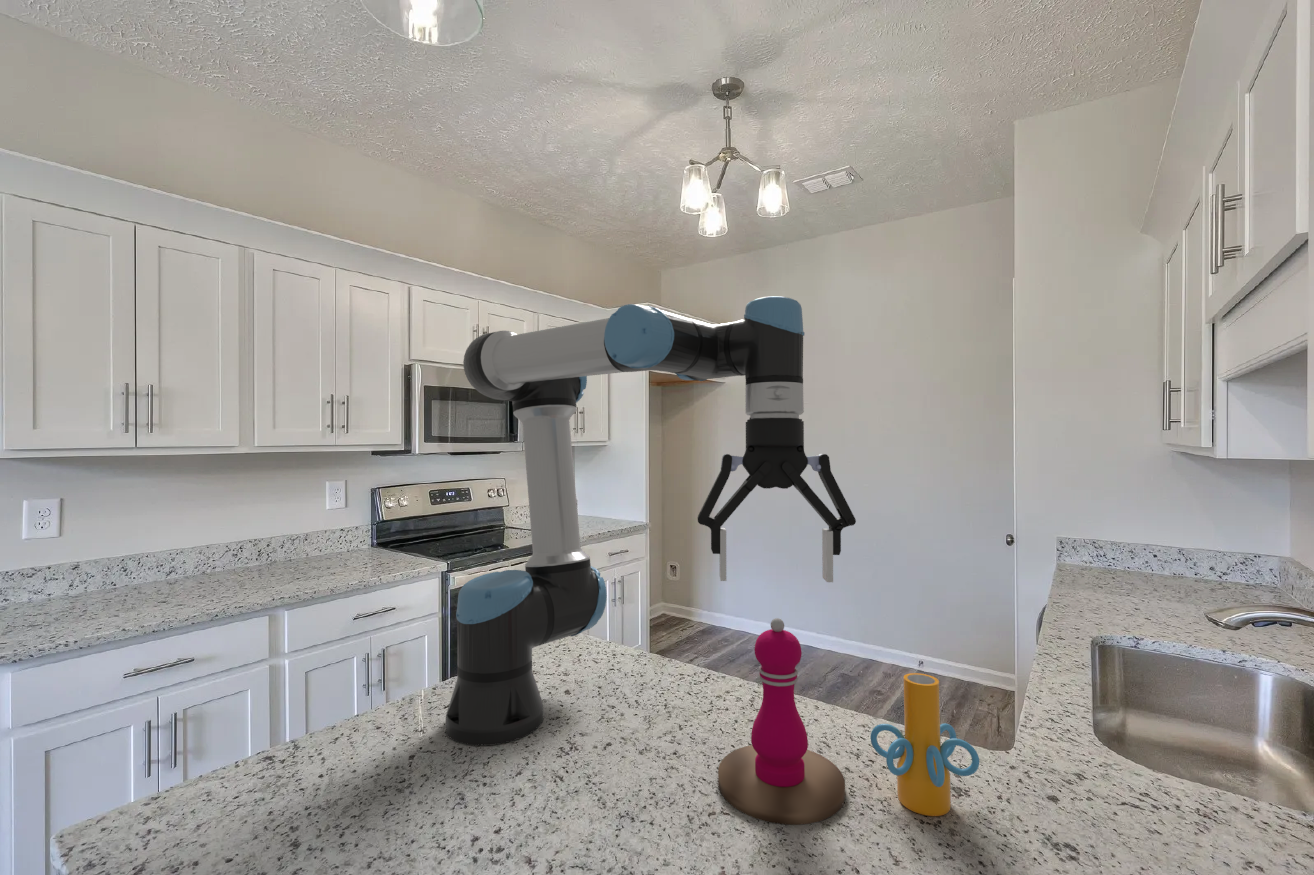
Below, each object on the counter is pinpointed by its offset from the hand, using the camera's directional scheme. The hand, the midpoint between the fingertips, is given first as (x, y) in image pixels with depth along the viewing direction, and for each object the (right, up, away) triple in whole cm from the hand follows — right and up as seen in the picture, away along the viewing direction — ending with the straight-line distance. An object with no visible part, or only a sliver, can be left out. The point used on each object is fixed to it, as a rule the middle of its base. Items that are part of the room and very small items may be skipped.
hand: (775, 579), depth 77 cm
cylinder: (+17, -26, -5) cm, 32 cm away
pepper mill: (0, -25, -1) cm, 25 cm away
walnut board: (0, -26, -1) cm, 27 cm away
